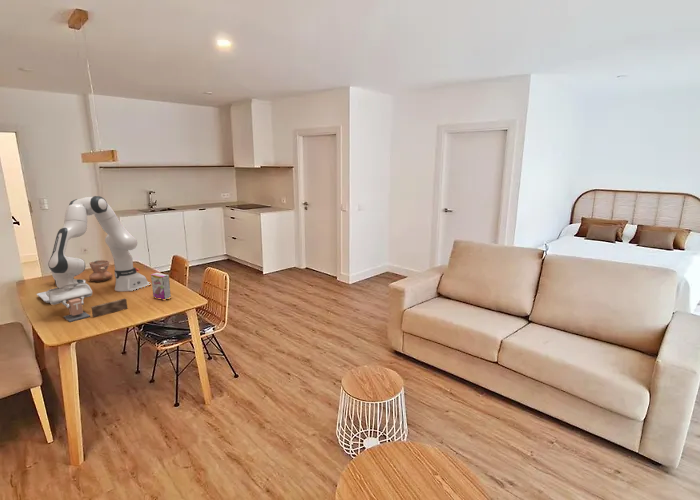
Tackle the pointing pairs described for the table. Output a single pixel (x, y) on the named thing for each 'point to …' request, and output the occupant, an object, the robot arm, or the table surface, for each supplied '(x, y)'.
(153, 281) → the candy bar box
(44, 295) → the salad plate
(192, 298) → the table surface
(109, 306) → the walnut screen
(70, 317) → the charcoal mat
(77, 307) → the pink block
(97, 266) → the ceramic jug
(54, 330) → the table surface
